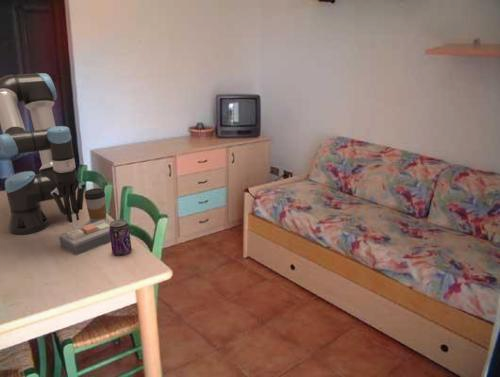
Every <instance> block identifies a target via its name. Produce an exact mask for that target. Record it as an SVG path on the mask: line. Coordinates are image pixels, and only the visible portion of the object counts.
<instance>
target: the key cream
mask: <svg viewBox="0 0 500 377" xmlns="http://www.w3.org/2000/svg"><path fill="white" fill-rule="evenodd" d="M71 230H72V231H71ZM71 230H69V231H70V232H68V231H66V232H67V236H68V238H70V239H72V240H75V239H78V238H80V237H83V236H84V232H83V231H81V230H79V229H78V230H75V231H74V230H73V229H71Z"/></svg>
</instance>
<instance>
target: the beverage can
mask: <svg viewBox="0 0 500 377" xmlns="http://www.w3.org/2000/svg"><path fill="white" fill-rule="evenodd" d="M130 230H131V229H130V225H129V223H128V221H127V220H126V219H120V218H119V219H115V220H112V221H110V227H109V232H110V239H111V242H110V244H111V245H110V246H111V252H112V254H114V255H118V256H123V255H126V254H128V253H130V252H131V251H132V240H131V239H132V238H131V232H130Z"/></svg>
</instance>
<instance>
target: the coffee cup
mask: <svg viewBox="0 0 500 377" xmlns="http://www.w3.org/2000/svg"><path fill="white" fill-rule="evenodd" d="M84 200H85V202H86V209H87V213H88V214H87V215H88V218H89V221H90V224H91V223H94V222H97V221H100V220H106V221H107V204H106V194H105V191H104V189H103V188H95V187H94V188H90V189H87V190H86V191H84Z"/></svg>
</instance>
